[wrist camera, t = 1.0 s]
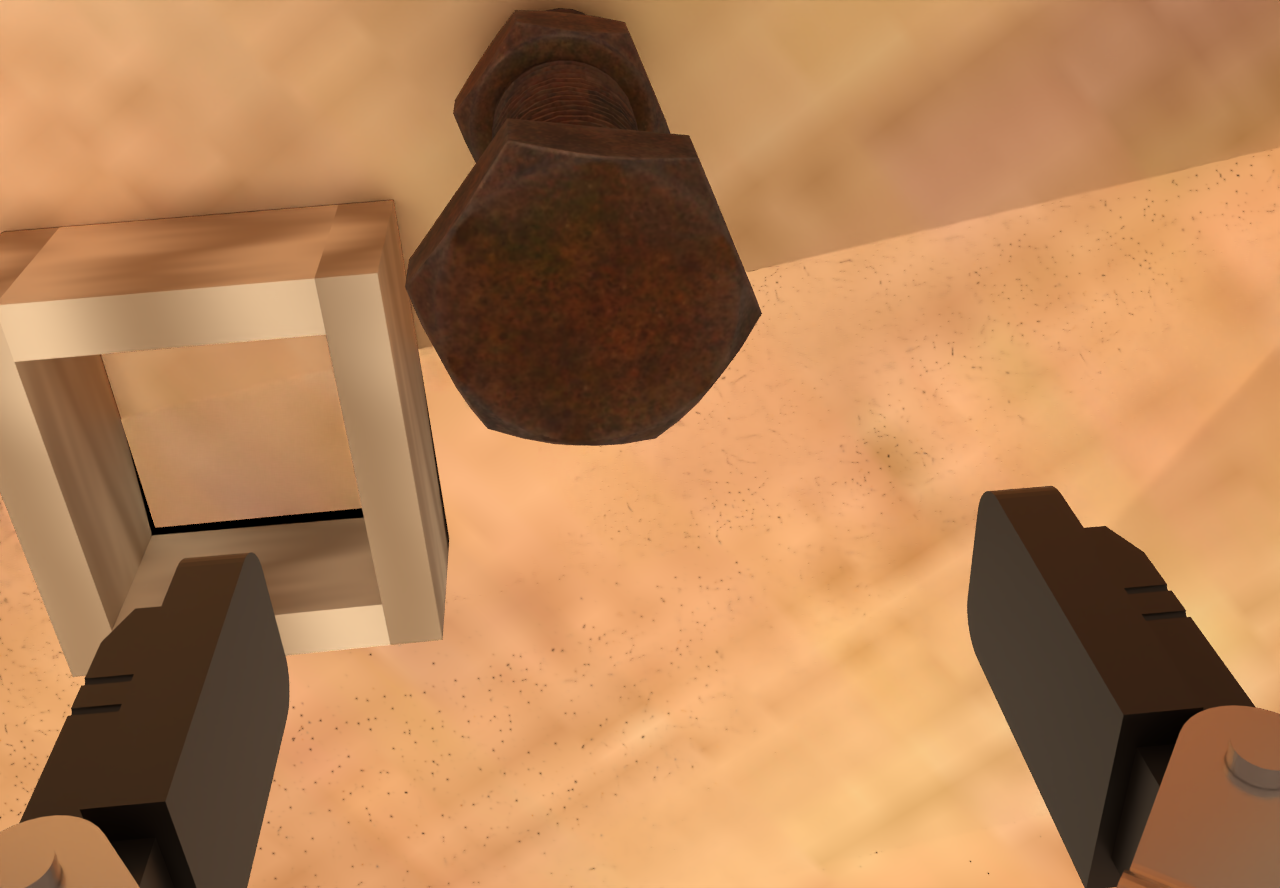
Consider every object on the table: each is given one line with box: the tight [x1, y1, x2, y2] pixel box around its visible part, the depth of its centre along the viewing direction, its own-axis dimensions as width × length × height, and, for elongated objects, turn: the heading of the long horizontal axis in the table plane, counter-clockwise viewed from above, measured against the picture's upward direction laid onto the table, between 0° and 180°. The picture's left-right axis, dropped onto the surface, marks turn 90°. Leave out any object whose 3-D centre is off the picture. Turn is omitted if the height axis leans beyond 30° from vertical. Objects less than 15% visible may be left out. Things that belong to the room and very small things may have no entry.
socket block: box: [0, 200, 449, 677], centre depth 34 cm, size 10×12×5 cm
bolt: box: [405, 8, 762, 446], centre depth 26 cm, size 6×5×15 cm
